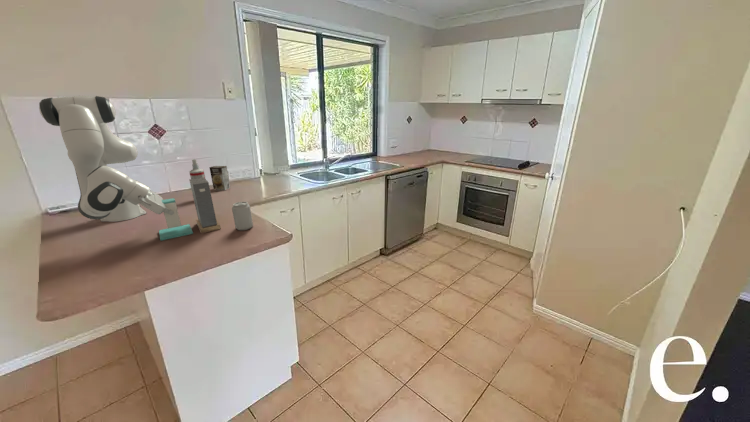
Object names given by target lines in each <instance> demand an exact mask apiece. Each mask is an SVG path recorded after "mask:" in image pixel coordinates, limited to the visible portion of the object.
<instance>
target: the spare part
mask: <svg viewBox="0 0 750 422" xmlns="http://www.w3.org/2000/svg"><path fill="white" fill-rule="evenodd" d="M162 203H164V205H165V207H166V208H168V209H170V210H172V211H174V214H173V215H170V214H167V213H164V212H163V215H164V218H165V222H166V227H167V228H168V229H169V228H174V227H179V226H182V224H181V220H180V215H179V211H178V206H177V203H176V199H175V198H174V197H173V198H166V199H163V200H162Z"/></svg>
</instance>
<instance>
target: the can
mask: <svg viewBox="0 0 750 422" xmlns="http://www.w3.org/2000/svg"><path fill="white" fill-rule="evenodd" d="M231 210H232V217H233V222H234V226H235V229H237V230H238V231H247V230H249V229H250V230H251V229H252V227H253V226H254V222H253V216H252V211H251V206H250V204H249V202H247V201H238V202H237V201H236V202H235V203H233V204H232V207H231Z"/></svg>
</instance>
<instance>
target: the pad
mask: <svg viewBox="0 0 750 422" xmlns="http://www.w3.org/2000/svg"><path fill="white" fill-rule="evenodd" d="M158 231H159V232H158V233H159V239H160V241H166V240H170V239H175V238H179V237H183V236H189V235H193V234H194V232H193V229H192V227H191V224H190V223H187V224H183V225H182V224H181V226H179V227H174V228H169V229H168V227H167V228H164V229H159V230H158Z"/></svg>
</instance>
